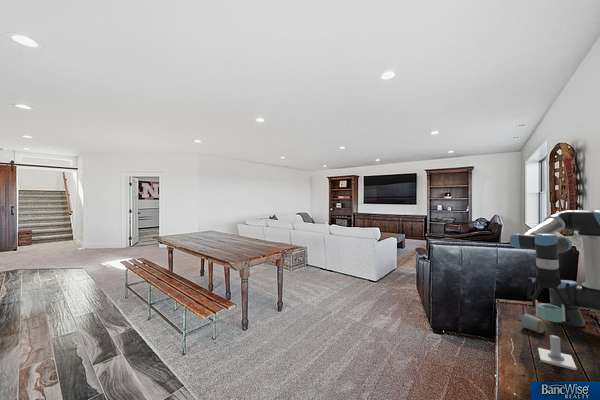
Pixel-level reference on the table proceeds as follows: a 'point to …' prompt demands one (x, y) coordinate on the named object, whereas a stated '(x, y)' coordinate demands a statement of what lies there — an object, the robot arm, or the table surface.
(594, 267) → the robot arm
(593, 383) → the table surface
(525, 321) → the ceramic mug
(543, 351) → the plate with round peg
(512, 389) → the table surface
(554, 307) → the ring
